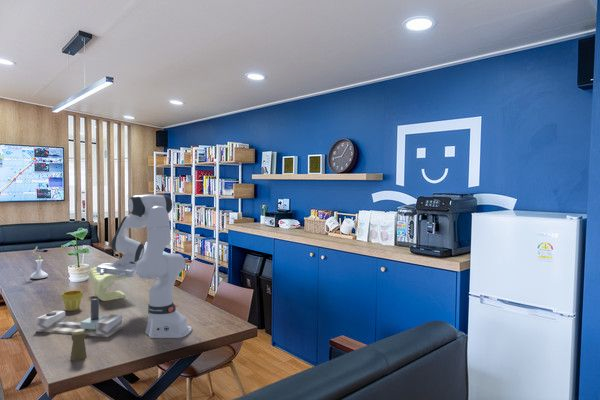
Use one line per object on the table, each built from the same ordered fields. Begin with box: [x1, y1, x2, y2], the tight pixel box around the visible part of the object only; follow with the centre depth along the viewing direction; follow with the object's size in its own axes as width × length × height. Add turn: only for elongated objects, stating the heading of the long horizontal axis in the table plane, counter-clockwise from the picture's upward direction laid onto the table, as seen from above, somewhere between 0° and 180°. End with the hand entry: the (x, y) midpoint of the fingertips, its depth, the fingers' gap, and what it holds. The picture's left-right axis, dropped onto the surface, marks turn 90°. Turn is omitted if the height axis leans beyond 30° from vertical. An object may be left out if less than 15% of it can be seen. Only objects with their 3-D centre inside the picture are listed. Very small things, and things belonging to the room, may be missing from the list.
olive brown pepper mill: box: [70, 331, 88, 362], centre depth 164 cm, size 6×6×11 cm
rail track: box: [36, 310, 123, 338], centre depth 194 cm, size 38×12×7 cm, turn 83°
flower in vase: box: [29, 246, 49, 280], centre depth 293 cm, size 13×11×25 cm
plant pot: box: [61, 290, 83, 312], centre depth 225 cm, size 10×10×10 cm
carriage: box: [80, 297, 109, 330], centre depth 193 cm, size 8×10×14 cm
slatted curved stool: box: [88, 266, 130, 302], centre depth 250 cm, size 30×16×18 cm, turn 43°
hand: (109, 275), depth 204 cm, fingers open, 8 cm apart
